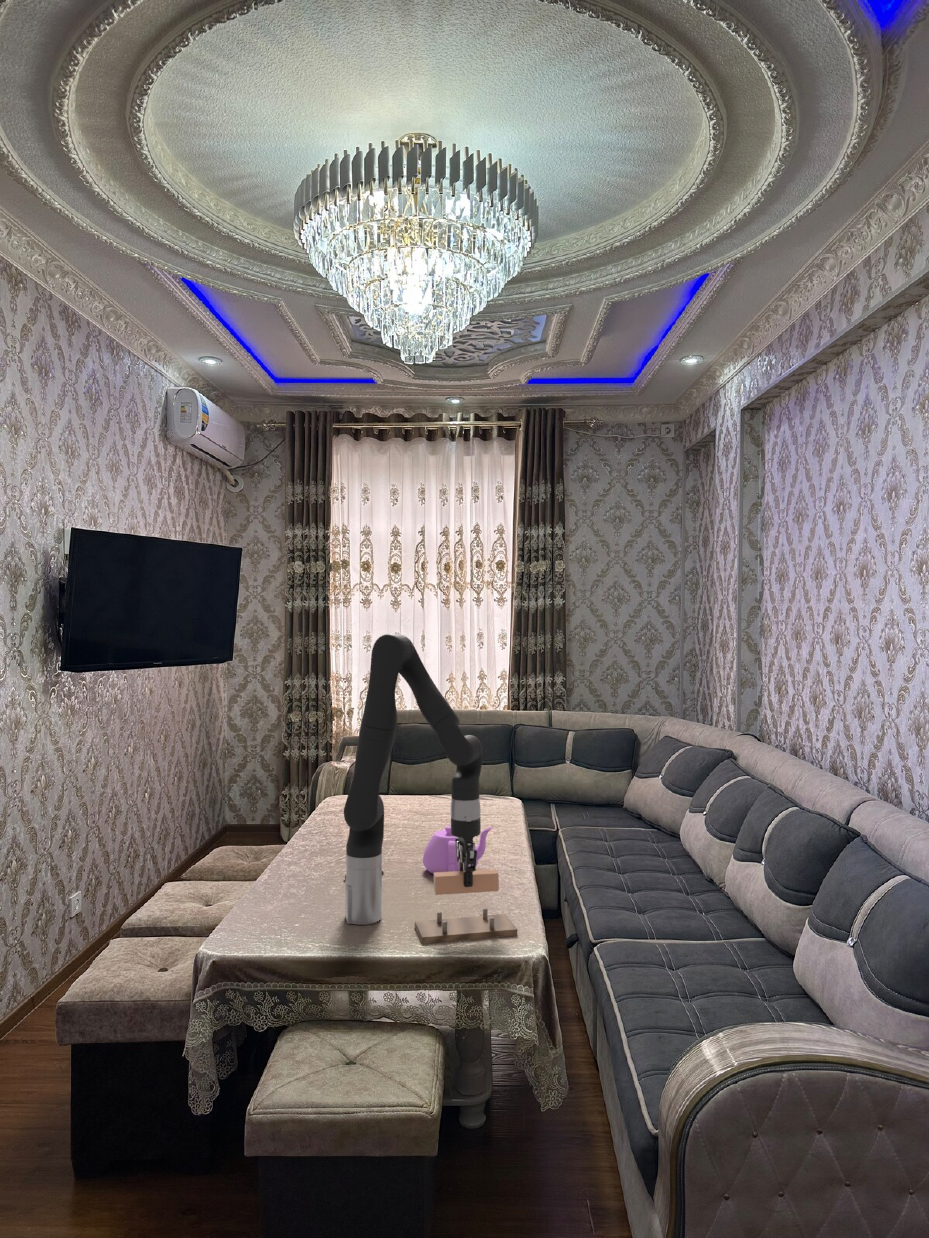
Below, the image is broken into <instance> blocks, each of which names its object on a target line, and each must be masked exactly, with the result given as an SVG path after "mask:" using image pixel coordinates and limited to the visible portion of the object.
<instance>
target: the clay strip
mask: <svg viewBox="0 0 929 1238" xmlns="http://www.w3.org/2000/svg"><path fill="white" fill-rule="evenodd" d="M463 872H464V871H453V872H435V873H434V874H433V892H434V895H436V896H441V895H453V894H454V895H457V894H472V893H474V894H475V893H489V892H490V893H491V892H499V891H500V890H499V872H498V870H497V869H496V868H492V869H491V868H490V869H477V870H475V871H474V872H473V886H472V887H465V886H464V879H463Z"/></svg>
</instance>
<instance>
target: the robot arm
mask: <svg viewBox="0 0 929 1238" xmlns="http://www.w3.org/2000/svg"><path fill="white" fill-rule="evenodd" d="M370 657H371V658H370V667H369V668H370V669H369V679H368V680H369V682H368V687H367V693H366V698H365V703H364V708H363V714H362V718H361V722H360V729H359V733H358V739H357V740H358V741H357V748H356V754H355V761H354V771H353V776H352V780H351V783H350V786H349V790H348V795H347V798H346V800H345V803H344V806H343V807H344V808H343V817H344V818H343V819H344V821H345V823H346V825H347V826H348V827H349V831H348V832H349V833H348V839H347V841H346V845H345V846H346V847H345V849H346V851H345V852H346V853H345V855H346V859H345V860H346V862H345V864H346V866H345V867H346V869H345V871H346V872H345V875H346V878H345V879H346V881H345V882H344V883H345V885H344V891H345V893H344V895H345V896H344V897H345V899H344V901H345V904H344V906H345V908H344V910H345V911H344V912H345V913H344V916H345V920H346V924H349V925H351V924H353V925H362V926H363V925H365V926H367V925H371V924H372V925H373V924H376V923H378V922H380V921H381V920H382V918H383V915H382V913H383V909H382V908H383V907H382V905H383V902H382V900H383V899H382V898H383V897H382V896H383V892H382V890H383V889H382V886H383V885H382V883H383V881H382V879H383V877H382V876H383V874H382V871H383V868H382V867H383V864H382V863H383V843H384V836H385V835H384V834H385V805H384V804H385V803H384V801H383V799H382V797H381V796H380V788H381V782H382V778H383V775H384V772H385V769H386V767H387V766H388V765H387V764H388V762H389V759H390V757H391V753H392V751H393V746H394V743H395V737H396V734H397V733H396V732H397V728H398V711H397V703H396V702H397V701H396V687H397V683H398V682H397V680H398V677H399V675H400V676H401V678H403V679H404V680H405V682H406V683H407V684H408V686H409V688H410V690H411V692H412V694H413V697H414V699H415V702H416V704H417V707H418V708H419V710H420V711H419V712H421V714H422V716H423V718H424V719H425V721H427V723H428V725H429V726H430V728H432V730H433V732H435V734H436V736H437V739H438V742H439V744H440V746H441V748H442V750H443V753H444V755H445V756H446V757H447V759H448V760H449V762H451V763H452V764H453V765H454V766H456V771H455V774H454V775H453V776H452V778H451V784H450V785H451V786H450V787H451V800H450V801H451V802H450V826H451V834H452V835H453V836H455V837H458V838H456V839H455V841H456V853H457V862H459V863H458V865H459V866H461V867H460V871H464V872H463V879H464V886H465V887H472V886H473V872H474V871H475V870H476V869H477V866H476V858H477V850H475V848H476V843H475V842H474V838H475V837H479V836H481V833H482V831H481V830H482V829H481V828H482V827H481V823H482V822H481V820H482V818H481V801H480V777H481V771H482V765H483V757H484V755H483V754H484V753H483V752H484V751H483V750H484V749H483V745H482V743H481V741H480V740H479V738H478V737H477V736H475V735H472V734H466V735H464V734H463V732H462V730H461V729H460V719H459V717H458V715H457V713H456V712H455V710H454V709H453V708H452V706H451V705H450V704H449V703H448V701H447V700H446V699H445V697H444V696H443V694H442V693H441V691H440V690H439V689H438V687H437V686H436V684H435V683H434V680H432V677H431V676H430V674H429V672H428V671H427V669H426V667H425V665H424V663H423V661H422V660H421V657H420V656H419V653H418V651H417V649H416V647H415V646H414V643H413V642H412V641H411V639H410V638H408V636H405V635H404V634H397V633H386V634H383V635H380V636H379V637H378V638H377V639H376V640H375V642H374V644H373V646H372V649H371V656H370ZM469 864H471V866H469ZM468 866H469V867H468ZM379 920H380V921H379ZM377 921H378V922H377Z"/></svg>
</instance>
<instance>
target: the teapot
mask: <svg viewBox="0 0 929 1238" xmlns="http://www.w3.org/2000/svg"><path fill="white" fill-rule="evenodd" d="M492 829H494V828H493V826H492V827H488V828H485V829H483V830H482V831H481V833H480V835H479V836H480V838H479V844H477V846H475V850H477V858H476V867H477V865H478V864H479V863H478V862H479V860H480V859H482V858H483V856H484V855H485V853H486V844H487V843H486V842H487V836H488V833H489V832H490V831H492ZM456 838H458V837H455V836H453V835H452V834H451V825H447V826H444V829H443V830H442V829H441V830H438V831H437V830H436V832H434V833H433V835H432V836H431V837H430V839H429V840H428V843H427V844H426V846H425V849H424V852H423V857H422V863H423V866H424V867H425V869H426V871H428V872H429V873H431V874H432V875H434V873H435V872H453V871H460V867H461V866H459V865H458V863H459V862H457V853H456V841H455V839H456ZM469 866H471V864H469ZM469 866H468V867H469Z"/></svg>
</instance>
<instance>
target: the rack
mask: <svg viewBox="0 0 929 1238" xmlns="http://www.w3.org/2000/svg"><path fill="white" fill-rule="evenodd" d="M415 927H416V929H415V930H417V931H416V933H417V932H418V933H417V934H419V935H418V937H419V939H420V941H422V942H421V943H422V944H432V943H445V942H446V943H447V942H455V941H467V940H468V941H469V940H478V939H479V940H481V939H489V938H490V939H491V938H499V937H500V938H501V937H502V938H503V937H511V936H515V937H516V936H518V928H517V927H516V925H515V924H514V923H513V921H511V919H510V918H509V916H508V915H507V914H506V913H500V914H488V908H486V907H483V908H482V915H476V916H475V915H474V916H462V917H452V918H449V917H448V918H443V912H442V911H437V912H436V919H428V920H427V919H426V920H414V928H415Z"/></svg>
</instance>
